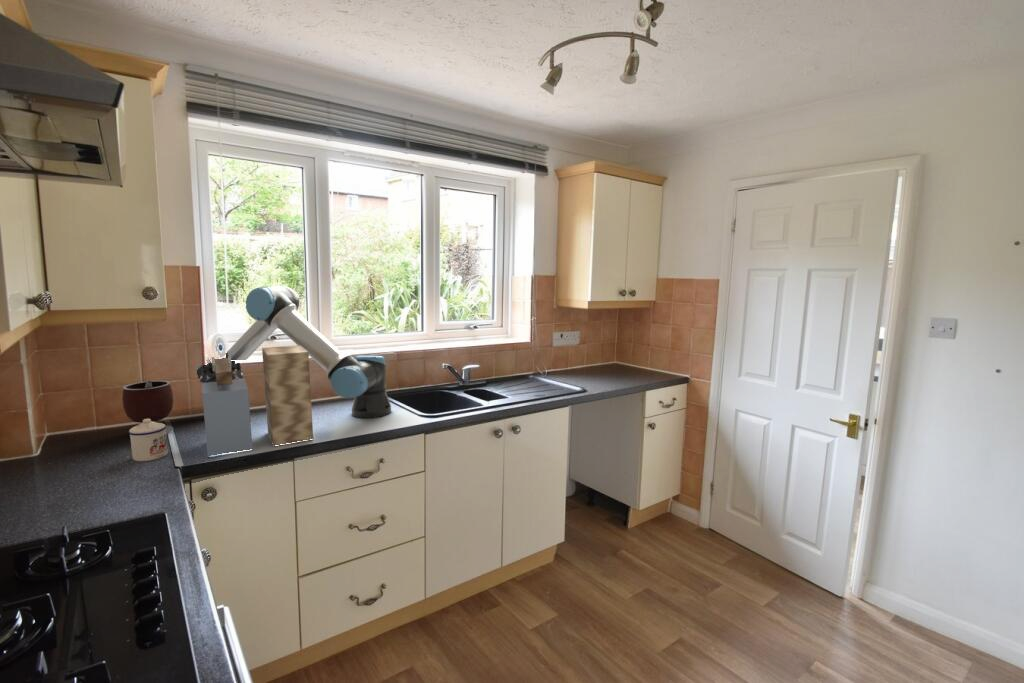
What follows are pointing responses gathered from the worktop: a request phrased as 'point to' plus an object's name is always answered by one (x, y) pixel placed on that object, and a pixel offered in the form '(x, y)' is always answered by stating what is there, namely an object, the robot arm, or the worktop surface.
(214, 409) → the slate base
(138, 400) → the mate gourd
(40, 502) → the worktop surface
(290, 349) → the oak stand
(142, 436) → the teacup with lid
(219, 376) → the walnut bar
